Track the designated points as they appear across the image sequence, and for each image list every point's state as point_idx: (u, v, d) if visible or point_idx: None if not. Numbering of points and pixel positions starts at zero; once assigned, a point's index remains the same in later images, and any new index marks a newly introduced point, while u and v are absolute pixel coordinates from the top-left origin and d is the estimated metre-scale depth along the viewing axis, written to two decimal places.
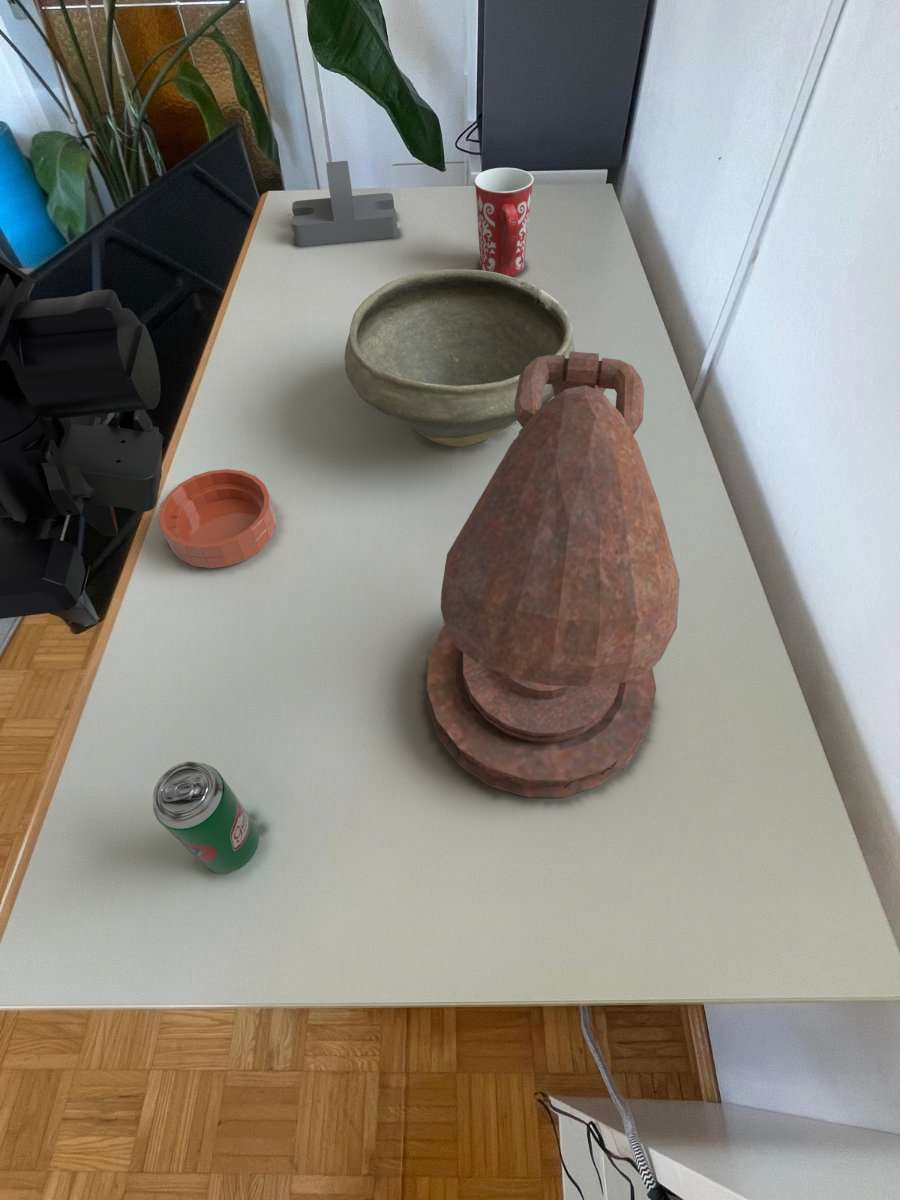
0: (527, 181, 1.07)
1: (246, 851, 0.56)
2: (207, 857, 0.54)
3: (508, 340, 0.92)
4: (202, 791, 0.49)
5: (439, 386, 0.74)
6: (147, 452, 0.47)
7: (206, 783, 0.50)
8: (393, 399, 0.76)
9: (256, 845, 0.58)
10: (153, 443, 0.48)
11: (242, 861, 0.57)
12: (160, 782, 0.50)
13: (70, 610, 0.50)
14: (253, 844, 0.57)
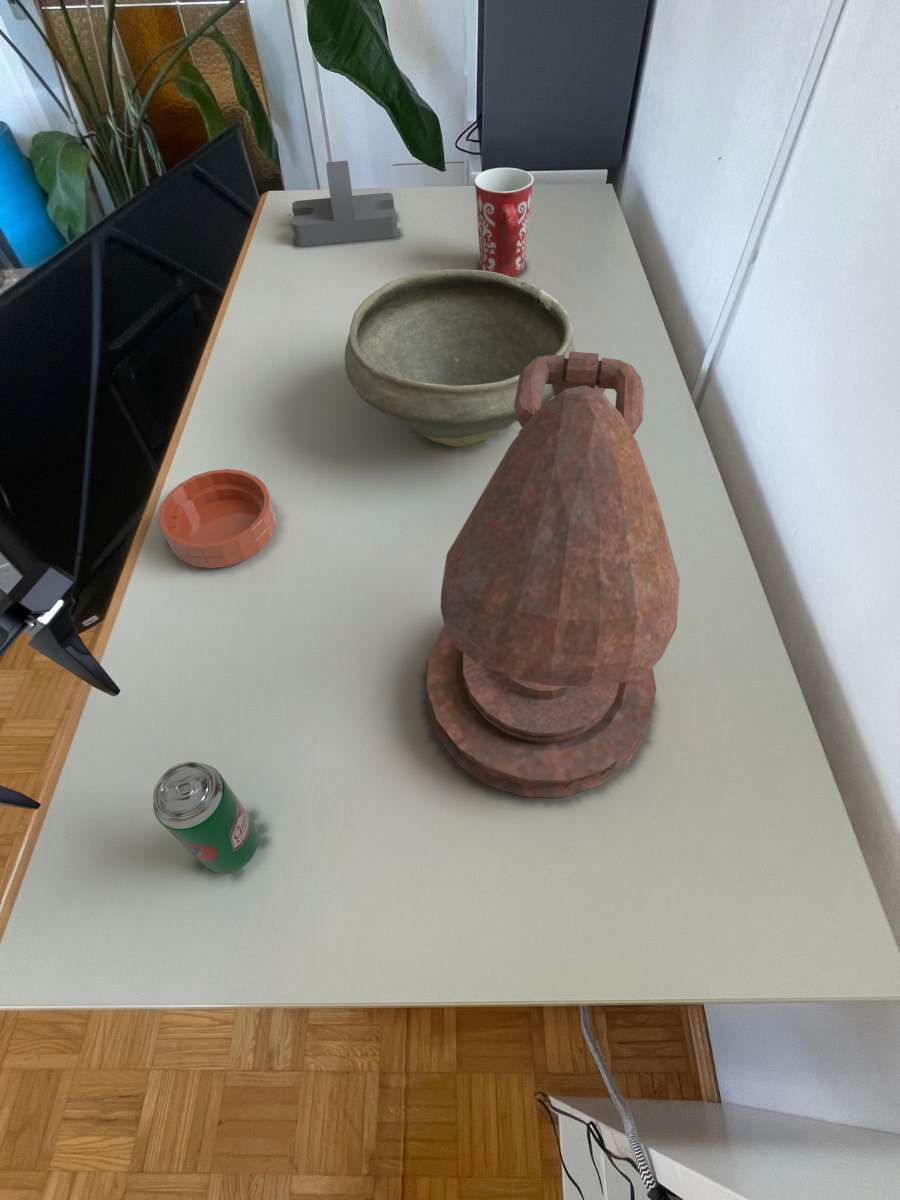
0: (527, 181, 1.07)
1: (246, 851, 0.56)
2: (207, 857, 0.54)
3: (508, 340, 0.92)
4: (202, 791, 0.49)
5: (439, 386, 0.74)
6: None
7: (206, 783, 0.50)
8: (393, 399, 0.76)
9: (256, 845, 0.58)
10: None
11: (242, 861, 0.57)
12: (160, 782, 0.50)
13: None
14: (253, 844, 0.57)
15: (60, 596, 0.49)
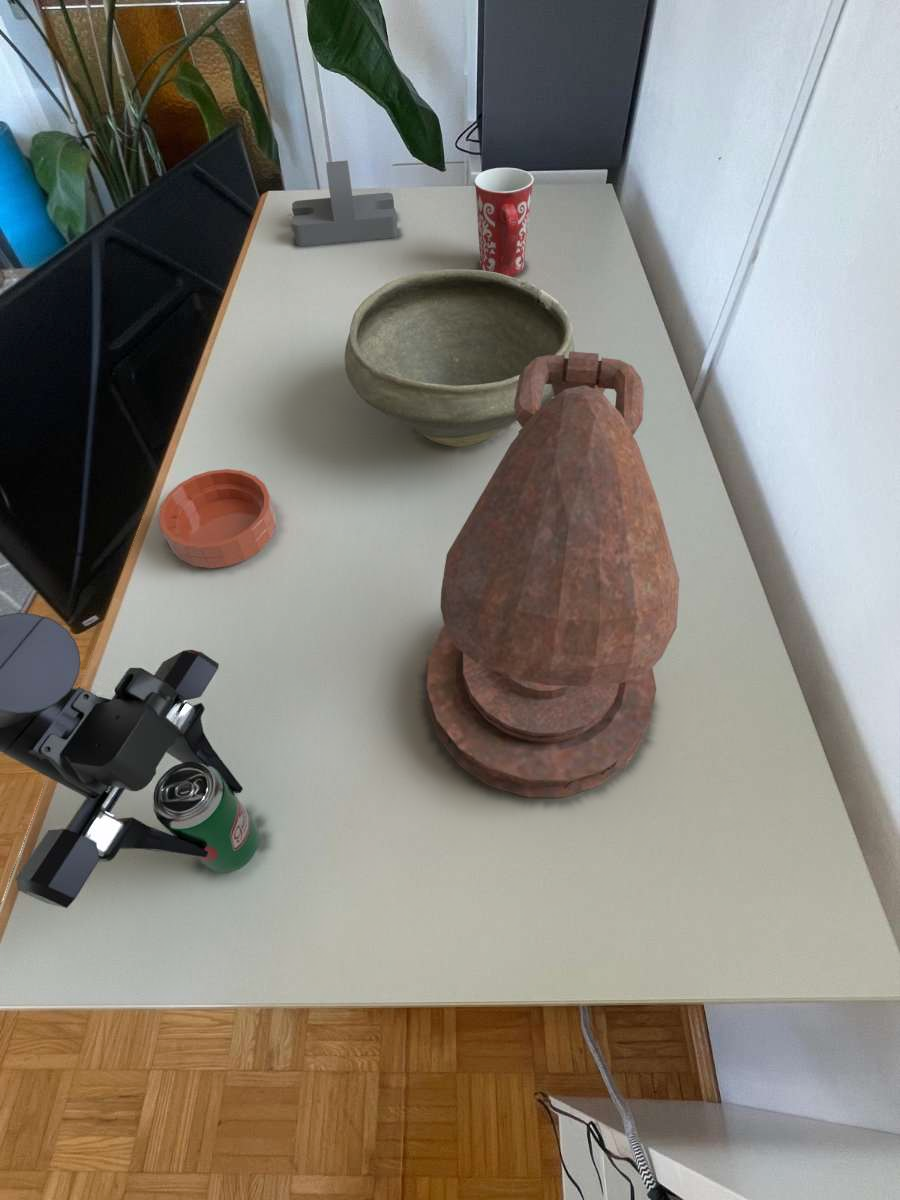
0: (527, 181, 1.07)
1: (246, 851, 0.56)
2: (207, 857, 0.54)
3: (508, 340, 0.92)
4: (203, 791, 0.49)
5: (439, 386, 0.74)
6: (125, 729, 0.43)
7: (206, 783, 0.50)
8: (393, 399, 0.76)
9: (256, 845, 0.58)
10: (137, 715, 0.44)
11: (242, 861, 0.57)
12: (160, 782, 0.50)
13: (163, 851, 0.50)
14: (253, 844, 0.57)
15: (207, 683, 0.52)
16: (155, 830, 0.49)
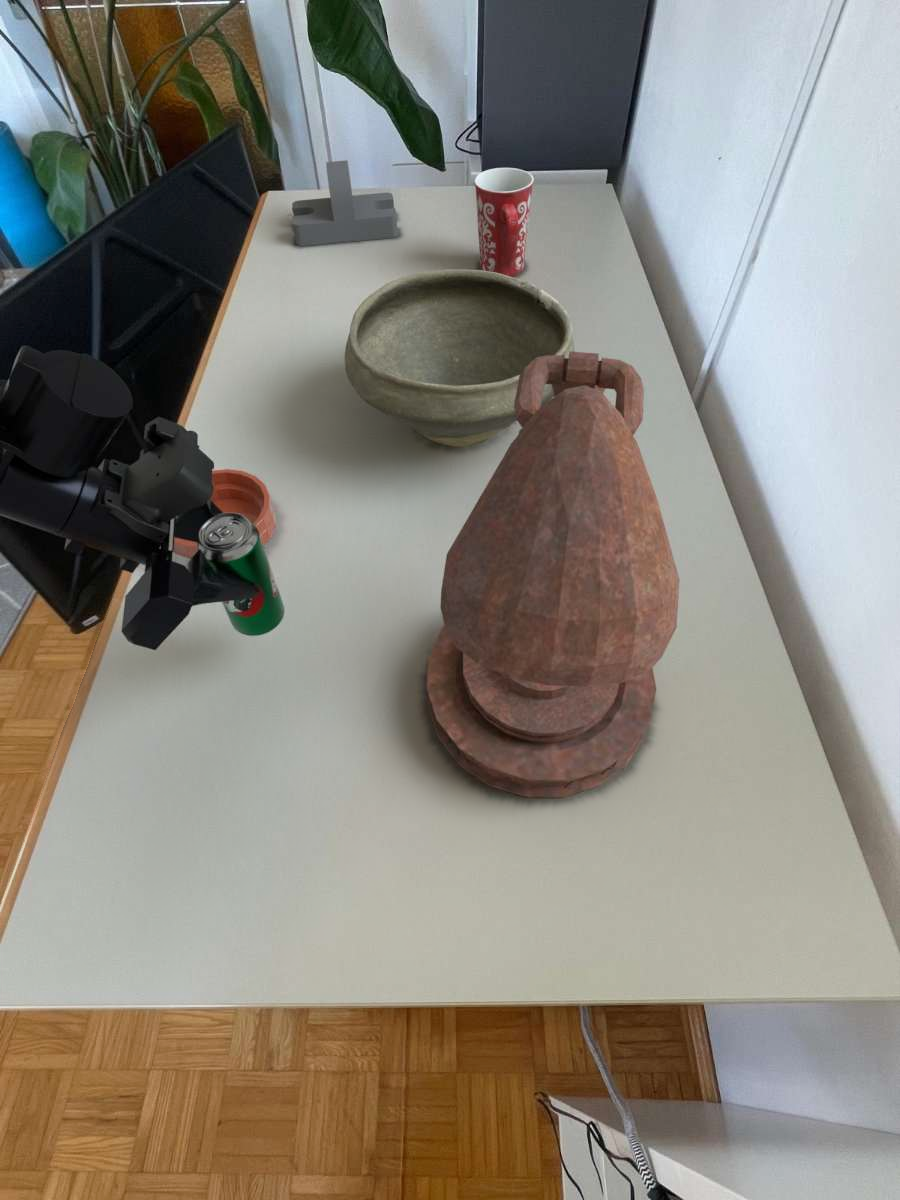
0: (527, 181, 1.07)
1: (280, 603, 0.64)
2: (256, 605, 0.61)
3: (508, 340, 0.92)
4: (240, 527, 0.57)
5: (439, 386, 0.74)
6: (176, 453, 0.50)
7: (240, 521, 0.57)
8: (393, 399, 0.76)
9: None
10: (179, 442, 0.51)
11: (279, 614, 0.65)
12: (200, 535, 0.57)
13: (226, 591, 0.57)
14: (281, 599, 0.65)
15: None
16: (216, 568, 0.56)
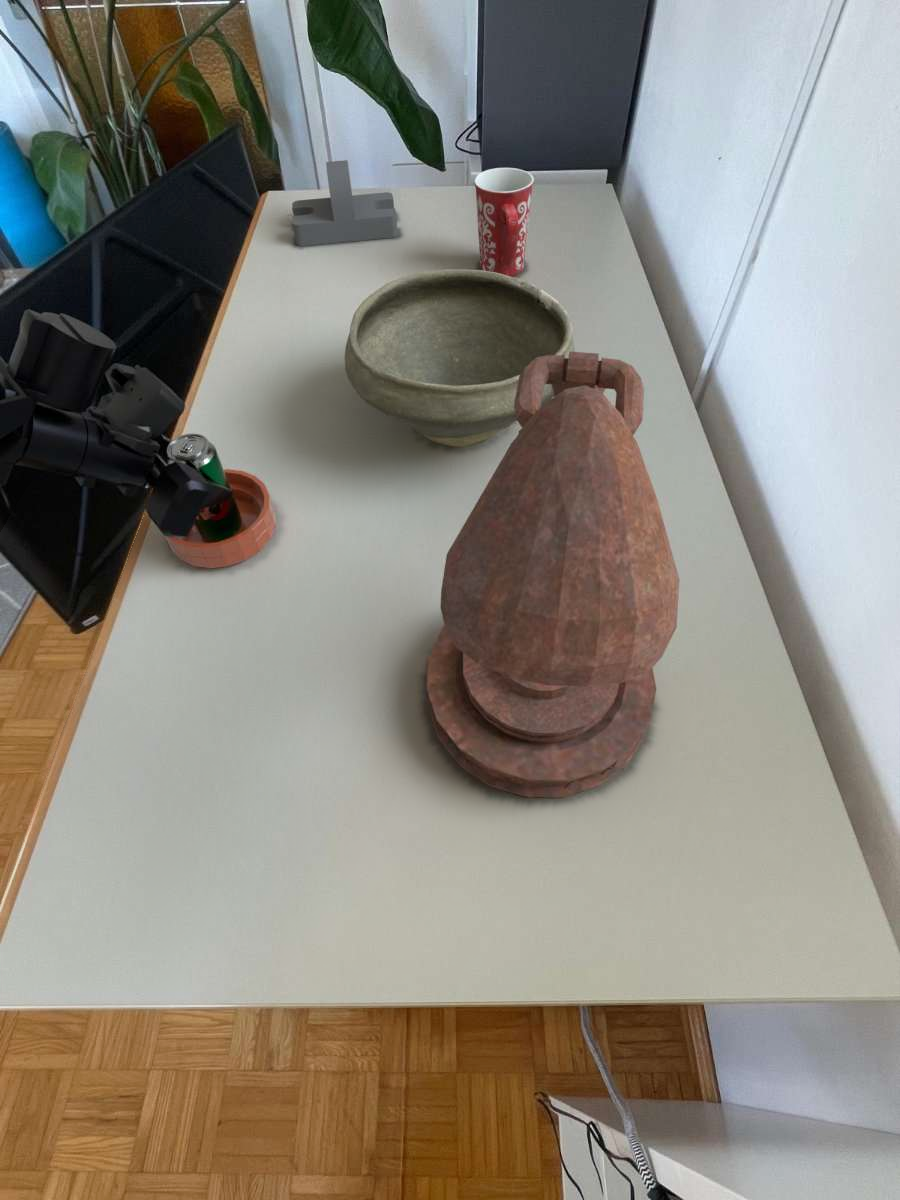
0: (527, 181, 1.07)
1: (237, 506, 0.79)
2: (225, 505, 0.76)
3: (508, 340, 0.92)
4: (197, 442, 0.72)
5: (439, 386, 0.74)
6: (146, 380, 0.64)
7: (195, 437, 0.72)
8: (393, 399, 0.76)
9: None
10: (144, 373, 0.65)
11: (240, 515, 0.80)
12: (170, 455, 0.70)
13: (212, 494, 0.71)
14: None
15: None
16: None
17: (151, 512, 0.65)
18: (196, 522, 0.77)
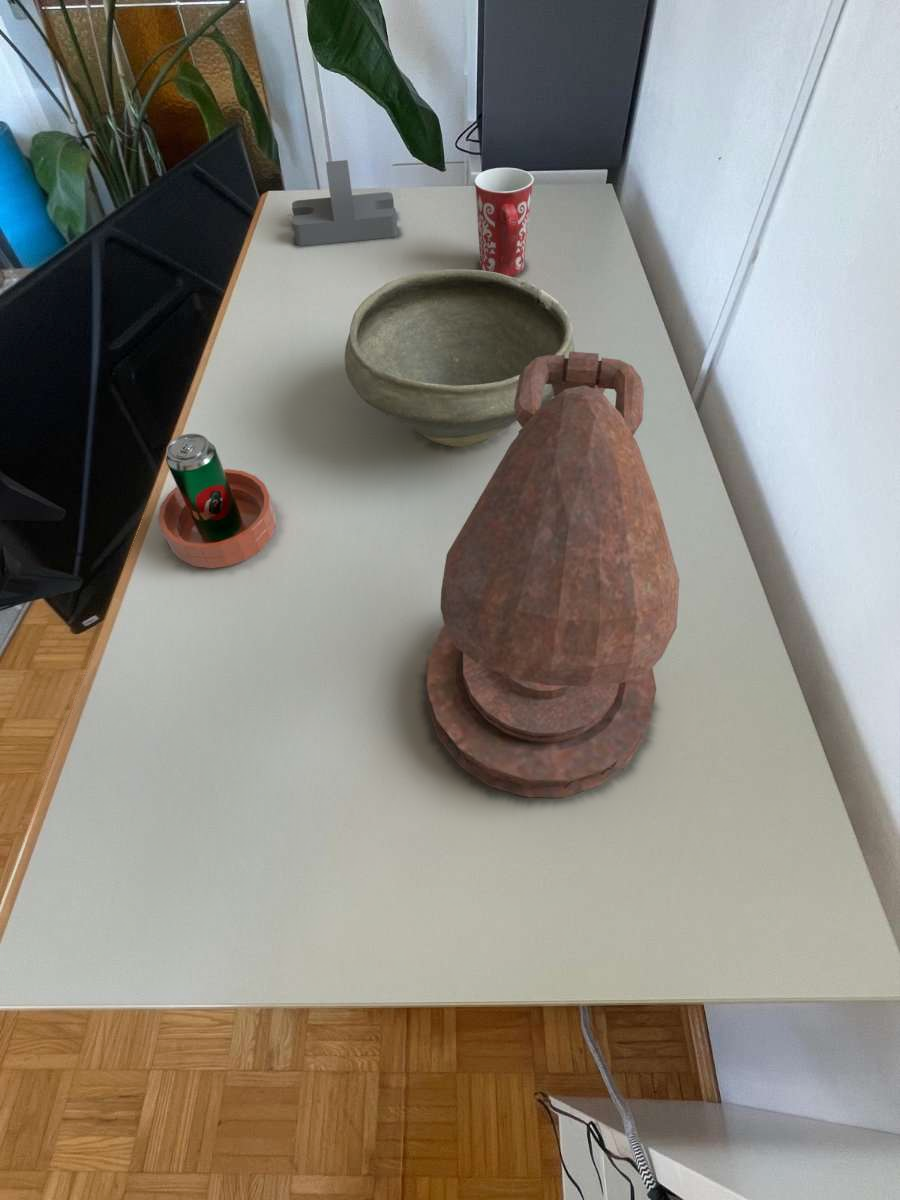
0: (527, 181, 1.07)
1: (237, 506, 0.79)
2: (225, 505, 0.76)
3: (508, 340, 0.92)
4: (197, 442, 0.72)
5: (439, 386, 0.74)
6: None
7: (195, 437, 0.72)
8: (393, 399, 0.76)
9: None
10: None
11: (240, 515, 0.80)
12: (170, 456, 0.70)
13: (44, 586, 0.56)
14: None
15: None
16: (26, 564, 0.55)
17: None
18: (196, 522, 0.77)
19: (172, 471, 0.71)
